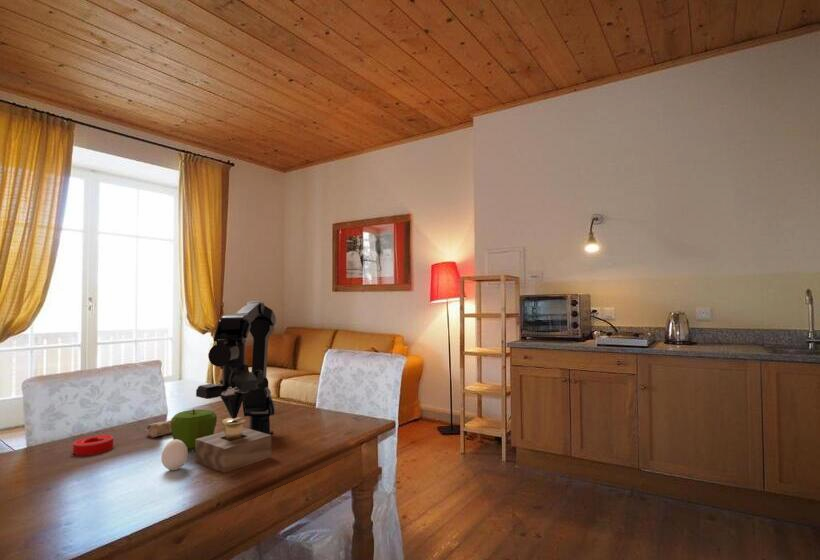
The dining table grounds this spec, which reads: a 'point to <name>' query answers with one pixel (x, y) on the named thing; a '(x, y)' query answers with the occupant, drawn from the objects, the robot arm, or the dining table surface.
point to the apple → (193, 426)
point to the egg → (174, 455)
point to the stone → (159, 429)
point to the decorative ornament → (93, 445)
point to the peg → (233, 428)
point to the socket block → (232, 450)
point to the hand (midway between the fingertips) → (234, 418)
